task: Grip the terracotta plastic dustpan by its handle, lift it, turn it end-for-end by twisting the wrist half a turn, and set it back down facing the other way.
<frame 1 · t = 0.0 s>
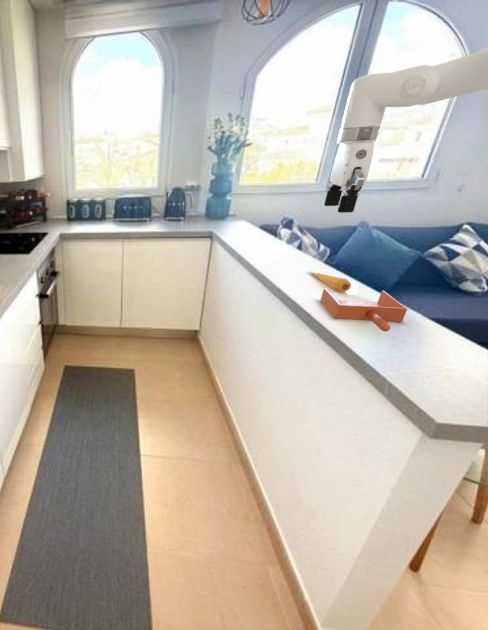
hand: (337, 208, 90), 29 cm above the table, tool pointing down, fingers open, 9 cm apart
carrot: (326, 283, 119), on the table
dustpan: (357, 311, 99), on the table
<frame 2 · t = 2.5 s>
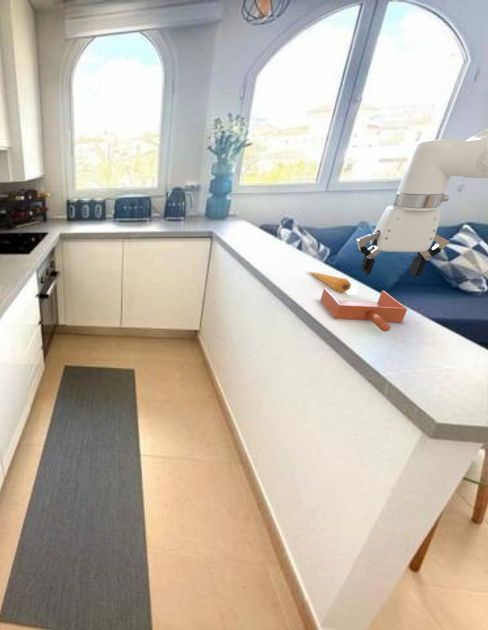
hand: (389, 273, 84), 15 cm above the table, tool pointing down, fingers open, 9 cm apart
nothing on the table moved.
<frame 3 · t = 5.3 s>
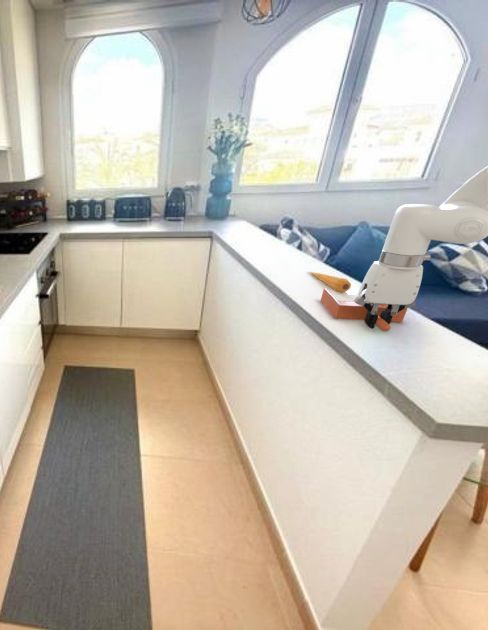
hand: (375, 326, 90), 1 cm above the table, tool pointing down, fingers closed on dustpan, 2 cm apart
dustpan: (357, 311, 99), on the table, touching gripper
everything else where it was.
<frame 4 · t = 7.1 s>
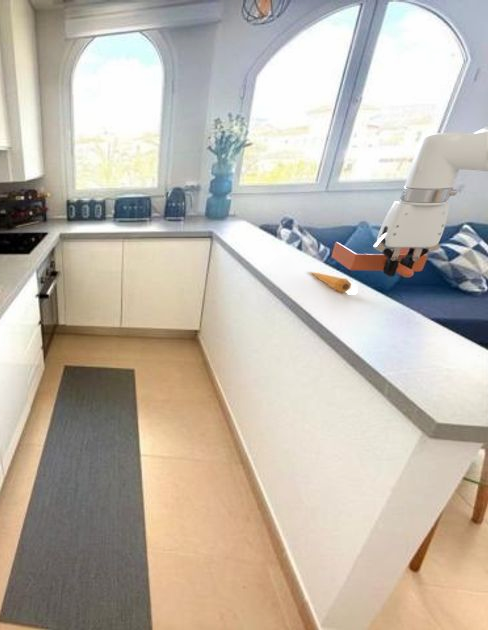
hand: (395, 274, 83), 15 cm above the table, tool pointing down, fingers closed on dustpan
dustpan: (372, 263, 93), point 14 cm above the table, touching gripper
everything else where it was.
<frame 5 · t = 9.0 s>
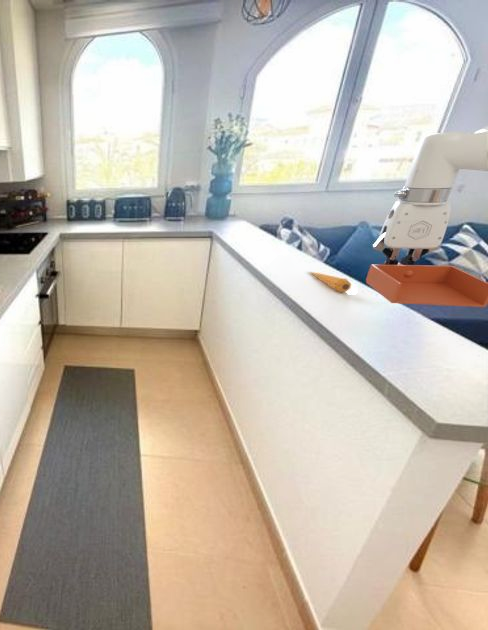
hand: (395, 274, 83), 15 cm above the table, tool pointing down, fingers closed on dustpan
dustpan: (420, 293, 74), point 14 cm above the table, touching gripper
everything else where it was.
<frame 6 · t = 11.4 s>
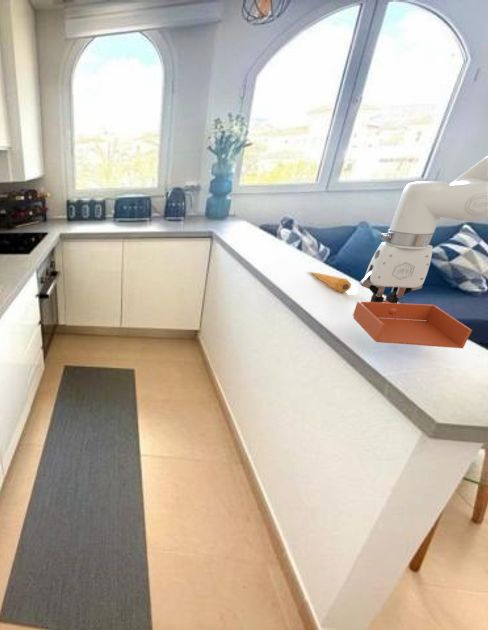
hand: (380, 309, 88), 6 cm above the table, tool pointing down, fingers closed on dustpan
dustpan: (402, 331, 79), point 5 cm above the table, touching gripper
everything else where it was.
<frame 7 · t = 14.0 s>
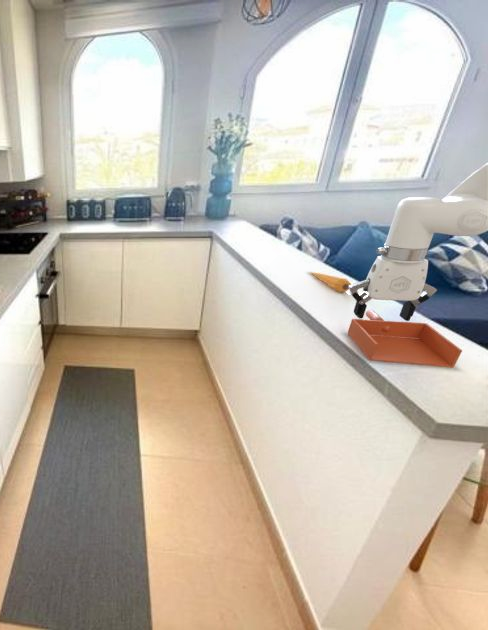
hand: (380, 317, 88), 3 cm above the table, tool pointing down, fingers open, 9 cm apart
dustpan: (395, 349, 81), on the table
everything else where it was.
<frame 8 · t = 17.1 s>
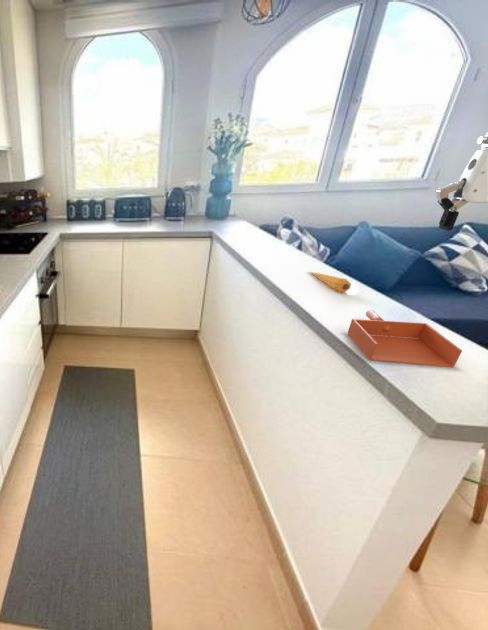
hand: (473, 229, 74), 26 cm above the table, tool pointing down, fingers open, 9 cm apart
nothing on the table moved.
at the end: dustpan inside the target area (0.3 cm from its centre), on the table; dustpan tilted 0°; the gripper is holding nothing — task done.
